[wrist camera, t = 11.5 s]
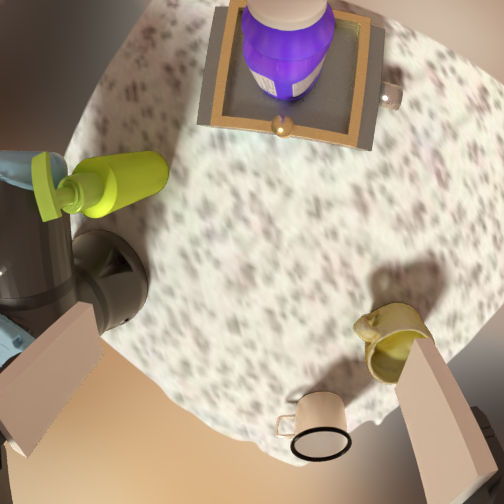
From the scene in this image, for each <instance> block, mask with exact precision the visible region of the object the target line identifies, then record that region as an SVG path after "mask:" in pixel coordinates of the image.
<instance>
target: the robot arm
mask: <svg viewBox="0 0 504 504" xmlns="http://www.w3.org/2000/svg"><path fill="white" fill-rule="evenodd" d="M41 153H43V152H34V151H0V504H13V502H12V496H11V489H10V483H9V475H8V466H7V455H6V449H5V446H4V445H3V444H4V442H5V441H6V440H7V441H8V443H9V444H10V446H11V447H12V448H13V450H15V451H16V452H18V453H20V454H21V455H23V456H24V457H26V458H28V457H29V456H30V455H31V453H32V452H33V450H34V449H35V447H36V446H37V445H38V443H39V442H40V440H41V439H42V437H43V436H44V435H45V433H46V432H47V430H48V429H49V428H50V426H51V425H52V423H53V422H54V421H55V419H56V418H57V417H58V415H59V414H60V412H61V411H62V410H63V408H64V407H65V405H66V404H67V403H68V402H69V400H70V399H71V398H72V396H73V395H74V394H75V392H76V391H77V390H78V388H79V387H80V386H81V384H82V383H83V382H84V380H85V379H86V378H87V376H88V375H89V374H90V373H91V371H92V370H93V369H94V367H95V366H96V365H97V364H98V362H99V361H100V360H101V359H102V357H103V356H104V354H103V350H102V346H101V342H100V336H101V335H102V334H103V333H104V332H105V331H108V330H110V329H112V328H115V327H117V326H119V325H122V324H125V323H127V322H129V321H130V320H131V319H132V318H134V317H135V315H136V314H137V313H138V312H139V311H140V310H141V308H142V307H143V305H144V303H145V300H146V297H147V278H146V274H145V270H144V268H143V265H142V263H141V261H140V259H139V257H138V256H137V254H136V253H135V251H134V250H133V249H132V248H131V247H130V246H129V245H128V244H127V243H126V242H125V241H124V240H123V239H121V238H120V237H119V236H117V235H115V234H113V233H111V232H108V231H104V230H91V231H88V232H85V233H83V234H81V235H79V236H77V237H76V238H74V239H73V240H72V236H71V223H70V214H69V213H67V212H65V211H64V210H63V209H60V210H61V214H62V216H61V217H59V218H56V219H52V220H49V221H46V222H43V220H42V217H41V214H40V211H39V208H38V205H37V201H36V197H35V193H34V189H33V182H32V168H31V164H32V158H33V157H35V156H37V155H39V154H41ZM47 153H48V154H49V155H50V167H51V175H52V180H53V184H54V188H55V189H57V188H58V185H59V183H60V181H61V180H62V179H63V178H65V177H67V176H68V168H67V163H66V161H65V159H64V158H63V157H62V156H61V155H59V154H57V153H53V152H47ZM395 392H396V395H397V398H398V401H399V404H400V407H401V410H402V413H403V416H404V419H405V422H406V426H407V429H408V432H409V436H410V439H411V442H412V446H413V449H414V453H415V456H416V460H417V464H418V467H419V471H420V475H421V479H422V483H423V487H424V490H425V495H426V499H427V504H504V451H503V449H502V447H501V445H500V443H499V441H498V439H497V437H495V433H494V431H493V429H492V428H491V425H490V423H489V421H488V419H487V417H486V415H485V414H484V413H483V412H482V411H481V410H480V409H479V408H478V407H477V406H475V407H469V405H468V403H467V401H466V400H465V398H464V396H463V394H462V392H461V390H460V389H459V387H458V385H457V383H456V381H455V379H454V377H453V376H452V374H451V372H450V370H449V368H448V367H447V365H446V363H445V361H444V360H443V358H442V356H441V354H440V353H439V351H438V349H437V348H436V346H435V344H434V343H433V341H432V339H431V338H415V339H414V342H413V345H412V348H411V350H410V353H409V355H408V358H407V361H406V363H405V366H404V368H403V371H402V373H401V375H400V378H399V380H398V383H397V385H396V387H395Z"/></svg>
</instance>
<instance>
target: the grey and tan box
mask: <svg viewBox="0 0 504 504" xmlns="http://www.w3.org/2000/svg"><path fill="white" fill-rule="evenodd" d="M246 5H247V0H230V3H229V7H215V12H214V17H213V23H212V28H211V33H210V39H209V45H208V50H207V56H206V62H205V69H204V75H203V82H202V88H201V95H200V103H199V110H198V118H197V125H201V126H207V127H212V128H223V129H233V130H242V131H250V132H258V133H266V134H273V135H278V136H279V137H281V138H289V137H293V138H299V139H305V140H311V141H316V142H322V143H327V144H332V145H337V146H342V147H347V148H352V149H356V150H362V151H372V145H373V139H374V132H375V125H376V118H377V110H378V106H382V107H385V108H389V109H393V110H398V109H399V107H400V105H401V101H402V95H403V91H402V87H401V86H398V85H395V84H392V83H388V82H385V81H381V75H382V64H383V52H384V38H385V29H381V28H378V27H374V26H370V25H371V18H369V17H365V16H361V15H356V14H352V13H347V12H343V11H338V10H332V11H333V13H334V19H335V26H334V35H333V39H332V42H331V45H330V47H329V49H328V51H327V53H326V56H325V59H324V63H323V67H322V70H321V72H320V74H319V76H318V78H317V80H316V81H315V83H314V84H313V86H312V87H311V88H310V90H309V91H308V92H307V93H306V94H305V95H304V96H302V97H300V98H299V99H296V100H292V101H287V100H282V99H280V98H276V97H274V96H272V95H270V94H268V93H267V92H265V91H264V90H263V89H262V88H261V87H260V86H259V85H258V83H257V81H256V79H255V78H254V76H253V74H252V72H251V70H250V69H249V67H248V65H247V63H246V61H245V59H244V55H243V40H244V34H243V31H242V15H243V11H244V9H245V7H246Z"/></svg>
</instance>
